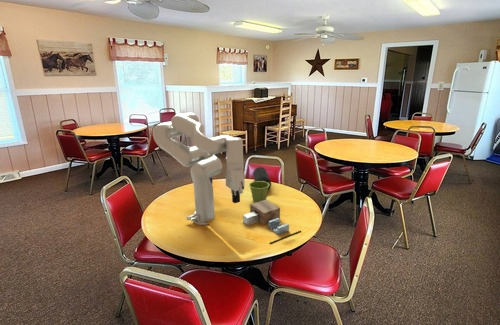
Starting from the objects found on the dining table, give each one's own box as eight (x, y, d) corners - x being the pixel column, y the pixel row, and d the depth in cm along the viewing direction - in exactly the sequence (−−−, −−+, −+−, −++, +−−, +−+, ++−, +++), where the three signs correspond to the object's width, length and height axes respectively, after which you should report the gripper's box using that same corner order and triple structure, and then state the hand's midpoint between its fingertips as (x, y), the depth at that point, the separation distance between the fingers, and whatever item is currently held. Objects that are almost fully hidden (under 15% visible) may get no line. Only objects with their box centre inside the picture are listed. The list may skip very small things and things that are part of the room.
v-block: (271, 244, 127) (271, 234, 125) (255, 232, 136) (255, 223, 135) (301, 232, 136) (301, 222, 135) (284, 221, 146) (284, 213, 144)
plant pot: (269, 198, 174) (269, 181, 170) (269, 207, 162) (269, 188, 159) (250, 198, 175) (250, 180, 172) (248, 206, 164) (247, 188, 160)
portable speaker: (271, 192, 183) (271, 178, 180) (256, 193, 182) (255, 178, 179) (266, 178, 207) (266, 165, 204) (252, 179, 206) (252, 166, 203)
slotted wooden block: (263, 227, 141) (263, 213, 139) (250, 218, 150) (250, 204, 148) (279, 221, 146) (280, 207, 144) (265, 212, 156) (265, 199, 153)
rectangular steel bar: (247, 225, 140) (247, 218, 139) (243, 222, 143) (242, 215, 142) (276, 215, 149) (276, 208, 148) (271, 212, 153) (271, 205, 151)
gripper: (219, 162, 134) (221, 198, 139) (236, 170, 122) (237, 209, 127) (233, 159, 138) (234, 195, 143) (251, 167, 126) (251, 205, 131)
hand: (236, 202), depth 135 cm, fingers closed
